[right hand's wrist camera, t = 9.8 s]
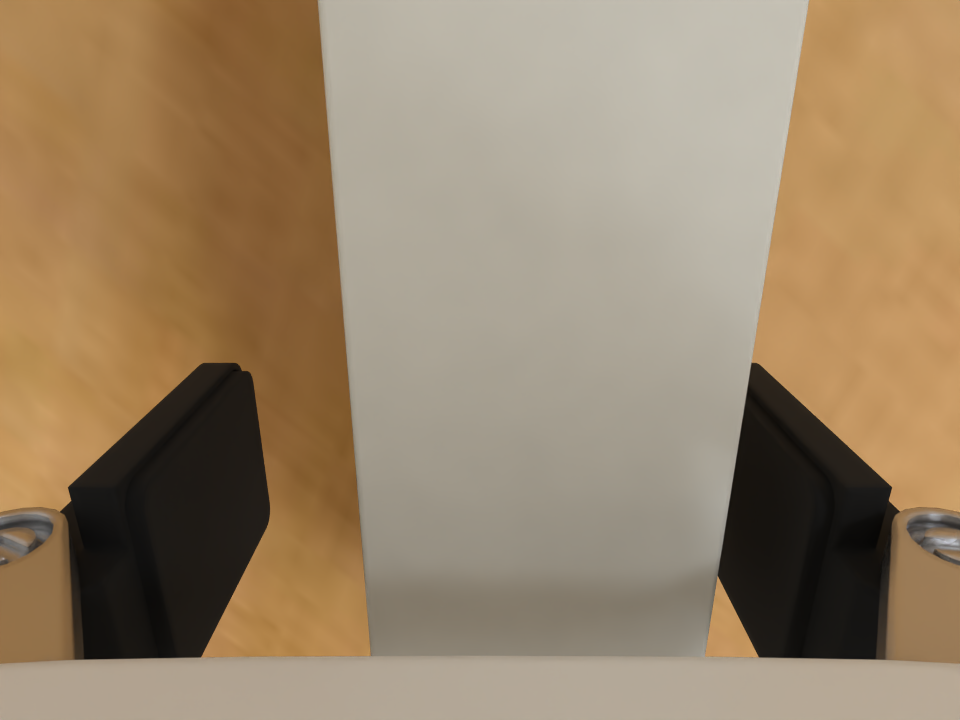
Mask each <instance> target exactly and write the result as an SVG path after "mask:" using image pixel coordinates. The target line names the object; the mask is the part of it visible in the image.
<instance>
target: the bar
mask: <svg viewBox="0 0 960 720" xmlns="http://www.w3.org/2000/svg"><path fill="white" fill-rule="evenodd" d="M808 3H809V0H318V11H319V23H320V36H321V48H322V60H323V73H324V85H325V97H326V109H327V122H328V134H329V146H330V159H331V171H332V183H333V195H334V208H335V220H336V232H337V245H338V257H339V269H340V282H341V294H342V306H343V318H344V331H345V343H346V355H347V368H348V380H349V392H350V404H351V417H352V429H353V441H354V454H355V466H356V478H357V491H358V503H359V515H360V527H361V540H362V552H363V564H364V577H365V589H366V601H367V613H368V626H369V638H370V650H371V656H652V657H705V652H706V645H707V639H708V633H709V626H710V620H711V614H712V607H713V601H714V595H715V589H716V582H717V576H718V570H719V563H720V557H721V551H722V544H723V538H724V532H725V526H726V519H727V513H728V507H729V500H730V494H731V488H732V482H733V475H734V469H735V463H736V456H737V450H738V444H739V437H740V431H741V425H742V419H743V412H744V406H745V400H746V393H747V387H748V381H749V375H750V368H751V362H752V356H753V349H754V343H755V337H756V330H757V324H758V318H759V312H760V305H761V299H762V293H763V286H764V280H765V274H766V267H767V261H768V255H769V249H770V242H771V236H772V230H773V223H774V217H775V211H776V205H777V198H778V192H779V186H780V179H781V173H782V167H783V160H784V154H785V148H786V142H787V135H788V129H789V123H790V116H791V110H792V104H793V98H794V91H795V85H796V79H797V72H798V66H799V60H800V53H801V47H802V41H803V35H804V28H805V22H806V16H807V9H808Z"/></svg>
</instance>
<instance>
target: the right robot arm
mask: <svg viewBox="0 0 960 720" xmlns="http://www.w3.org/2000/svg"><path fill="white" fill-rule="evenodd" d="M68 489H69V493H70V497H71V502H70V503H69V504H68V505H67V506H66V507H65V508H63V509H62V510H61V511H60V512H59V511H57V510H55V509H49V508H43V507H33V508H20V509H15V510H9V511H4V512H0V720H960V512H956V511H951V510H945V509H940V508H927V507H917V508H911V509H905V510H903V511H901V512H900V511H899V510H898V509H897V508H896V507H894V506H893V505H892V504H891V503H890V502H889V497H890V493H891V489H892V487H891V486H890V485H889V484H888V483H887V482H886V481H885V480H884V479H882V478H881V477H880V476H879V475H878V474H877V473H876V472H875V471H874V470H873V469H872V468H871V467H869V466H868V465H867V464H866V463H865V462H864V461H863V460H862V459H861V458H860V457H859V456H858V455H857V454H855V453H854V452H853V451H852V450H851V449H850V448H849V447H848V446H847V445H846V444H845V443H844V442H842V441H841V440H840V439H839V438H838V437H837V436H836V435H835V434H834V433H833V432H832V431H831V430H830V429H828V428H827V427H826V426H825V425H824V424H823V423H822V422H821V421H820V420H819V419H818V418H817V417H816V416H814V415H813V414H812V413H811V412H810V411H809V410H808V409H807V408H806V407H805V406H804V405H803V404H801V403H800V402H799V401H798V400H797V399H796V398H795V397H794V396H793V395H792V394H791V393H790V392H789V391H787V390H786V389H785V388H784V387H783V386H782V385H781V384H780V383H779V382H778V381H777V380H776V379H774V378H773V377H772V376H771V375H770V374H769V373H768V372H767V371H766V370H765V369H764V368H763V367H762V366H760V365H759V364H757V363H751V368H750V375H749V381H748V387H747V393H746V400H745V406H744V412H743V419H742V425H741V431H740V437H739V444H738V450H737V456H736V463H735V469H734V475H733V482H732V488H731V494H730V500H729V507H728V513H727V519H726V526H725V532H724V538H723V544H722V551H721V557H720V563H719V570H718V577H719V579H720V581H721V583H722V585H723V587H724V589H725V591H726V593H727V595H728V597H729V599H730V601H731V603H732V605H733V607H734V609H735V611H736V613H737V615H738V617H739V619H740V621H741V623H742V625H743V627H744V629H745V630H746V632H747V634H748V636H749V638H750V640H751V642H752V644H753V646H754V648H755V650H756V652H757V654H758V656H759V658H753V657H652V656H308V657H207V658H201V656H202V654H203V652H204V650H205V648H206V646H207V644H208V642H209V640H210V638H211V636H212V634H213V632H214V631H215V629H216V627H217V625H218V623H219V621H220V619H221V617H222V615H223V613H224V611H225V609H226V607H227V605H228V603H229V601H230V599H231V597H232V595H233V593H234V591H235V589H236V587H237V585H238V583H239V581H240V579H241V577H242V575H243V573H244V571H245V569H246V567H247V565H248V563H249V561H250V559H251V557H252V555H253V553H254V551H255V549H256V547H257V546H258V544H259V542H260V540H261V538H262V536H263V534H264V532H265V530H266V528H267V525H268V522H269V516H270V502H269V495H268V488H267V480H266V473H265V466H264V458H263V451H262V444H261V436H260V429H259V421H258V414H257V407H256V399H255V392H254V385H253V379H252V376H251V374H250V373H249V372H248V371H242V370H241V368H240V366H239V365H238V364H236V363H203V364H201V365H200V366H198V367H197V368H196V369H195V370H194V371H193V372H192V373H191V374H190V375H189V376H188V377H187V378H186V379H184V380H183V381H182V382H181V383H180V384H179V385H178V386H177V387H176V388H175V389H174V390H173V391H171V392H170V393H169V394H168V395H167V396H166V397H165V398H164V399H163V400H162V401H161V402H160V403H159V404H157V405H156V406H155V407H154V408H153V409H152V410H151V411H150V412H149V413H148V414H147V415H146V416H145V417H143V418H142V419H141V420H140V421H139V422H138V423H137V424H136V425H135V426H134V427H133V428H132V429H130V430H129V431H128V432H127V433H126V434H125V435H124V436H123V437H122V438H121V439H120V440H119V441H118V442H116V443H115V444H114V445H113V446H112V447H111V448H110V449H109V450H108V451H107V452H106V453H105V454H103V455H102V456H101V457H100V458H99V459H98V460H97V461H96V462H95V463H94V464H93V465H92V466H91V467H89V468H88V469H87V470H86V471H85V472H84V473H83V474H82V475H81V476H80V477H79V478H78V479H76V480H75V481H74V482H73V483H72V484H71V485H70V486H69V487H68Z"/></svg>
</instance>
